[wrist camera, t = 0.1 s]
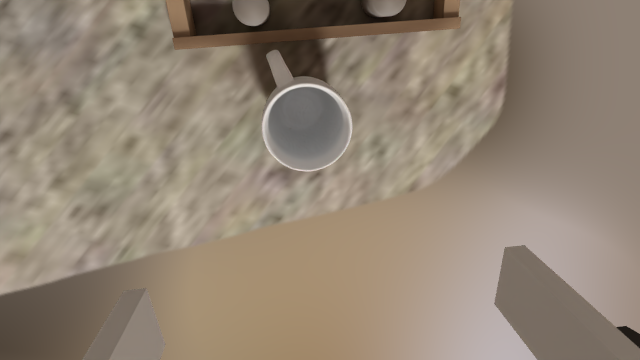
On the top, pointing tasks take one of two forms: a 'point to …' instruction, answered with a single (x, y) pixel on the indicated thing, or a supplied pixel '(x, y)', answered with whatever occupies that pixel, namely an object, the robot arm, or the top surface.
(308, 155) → the mug
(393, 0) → the rail board
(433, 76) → the top surface
